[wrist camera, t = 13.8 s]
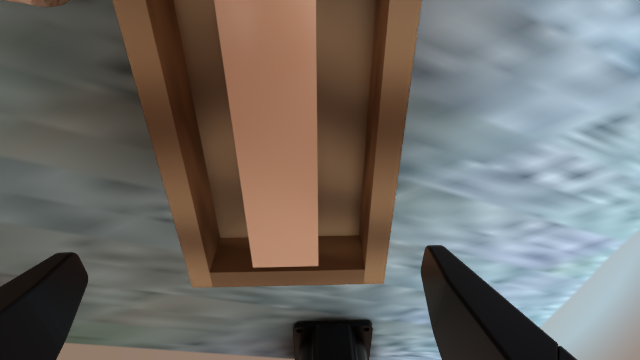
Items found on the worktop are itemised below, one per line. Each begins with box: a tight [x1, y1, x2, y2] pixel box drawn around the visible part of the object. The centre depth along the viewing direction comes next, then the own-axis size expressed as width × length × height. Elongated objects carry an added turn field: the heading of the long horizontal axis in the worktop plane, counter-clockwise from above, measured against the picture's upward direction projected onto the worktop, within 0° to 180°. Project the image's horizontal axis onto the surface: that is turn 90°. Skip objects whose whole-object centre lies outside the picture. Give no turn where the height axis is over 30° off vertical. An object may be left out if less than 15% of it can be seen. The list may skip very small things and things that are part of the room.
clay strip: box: [214, 0, 318, 268], centre depth 17 cm, size 15×4×4 cm, turn 0°
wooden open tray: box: [112, 0, 422, 287], centre depth 18 cm, size 20×11×4 cm, turn 0°
